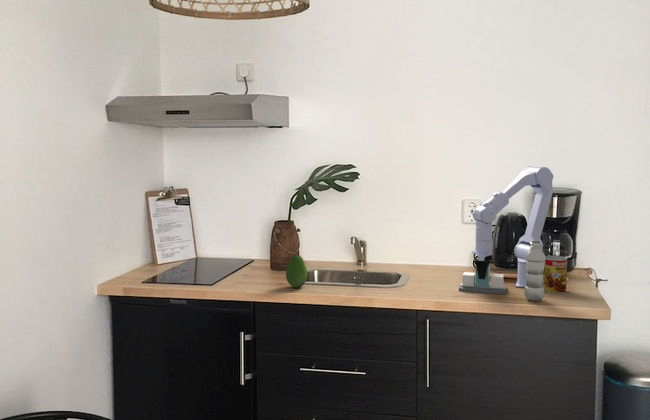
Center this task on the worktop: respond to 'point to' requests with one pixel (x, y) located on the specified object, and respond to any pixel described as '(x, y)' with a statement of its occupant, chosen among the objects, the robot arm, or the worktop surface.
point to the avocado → (296, 272)
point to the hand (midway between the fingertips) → (483, 276)
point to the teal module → (483, 281)
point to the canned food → (555, 274)
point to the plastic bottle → (535, 272)
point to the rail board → (495, 287)
